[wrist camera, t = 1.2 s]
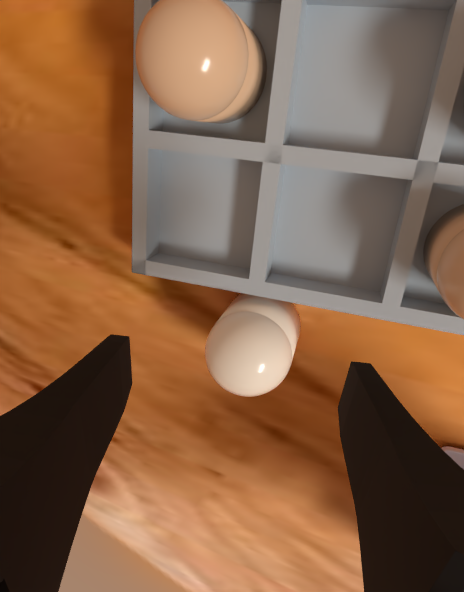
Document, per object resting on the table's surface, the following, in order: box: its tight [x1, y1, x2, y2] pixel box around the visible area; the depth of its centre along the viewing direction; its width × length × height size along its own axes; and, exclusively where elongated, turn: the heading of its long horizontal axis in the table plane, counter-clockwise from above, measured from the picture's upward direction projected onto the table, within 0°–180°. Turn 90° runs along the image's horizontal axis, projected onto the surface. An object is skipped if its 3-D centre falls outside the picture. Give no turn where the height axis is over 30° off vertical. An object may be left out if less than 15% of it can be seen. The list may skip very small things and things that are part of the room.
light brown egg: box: [205, 293, 301, 397], centre depth 22 cm, size 4×4×6 cm
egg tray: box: [132, 0, 464, 335], centre depth 19 cm, size 14×20×3 cm
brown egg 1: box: [135, 0, 267, 124], centre depth 17 cm, size 4×4×6 cm
